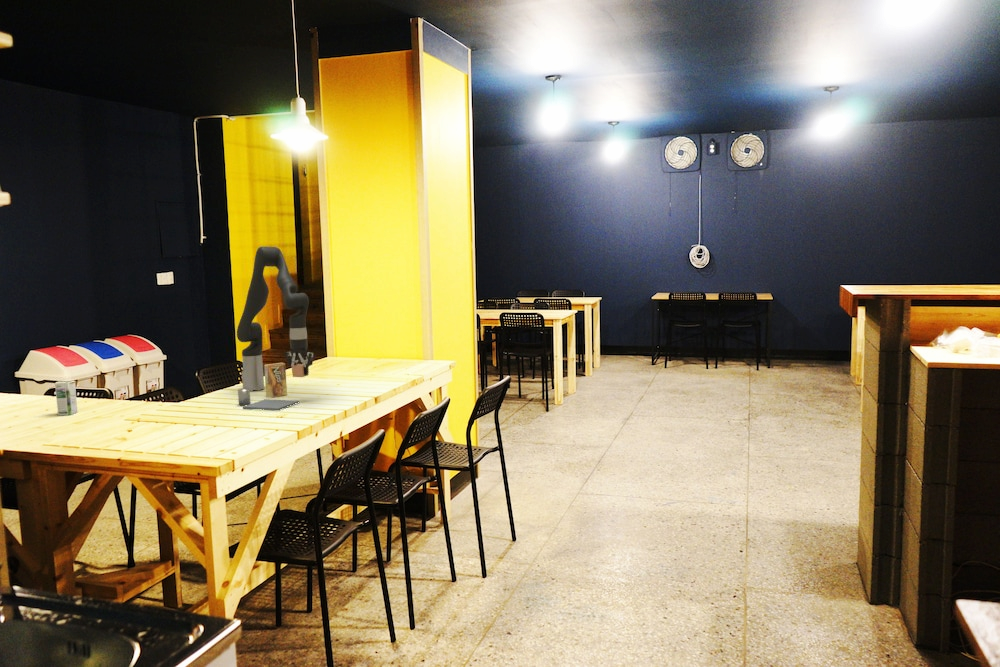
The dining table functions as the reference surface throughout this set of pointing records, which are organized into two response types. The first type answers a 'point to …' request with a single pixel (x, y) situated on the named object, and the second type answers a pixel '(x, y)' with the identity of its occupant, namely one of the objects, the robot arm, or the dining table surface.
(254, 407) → the slate board
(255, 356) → the robot arm
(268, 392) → the candy box
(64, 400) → the syrup box
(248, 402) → the grey metal cylinder
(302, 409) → the dining table surface
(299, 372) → the terracotta block
